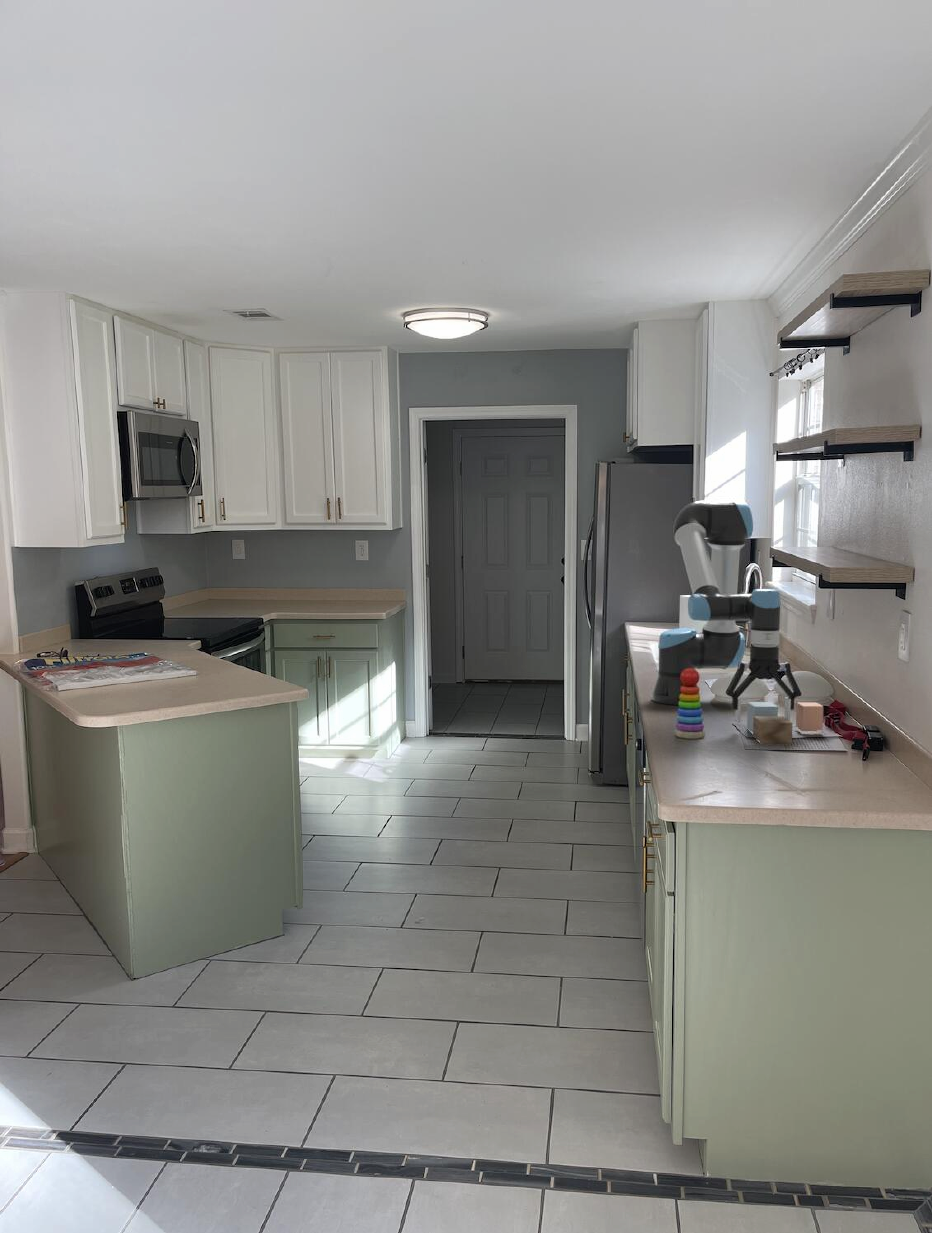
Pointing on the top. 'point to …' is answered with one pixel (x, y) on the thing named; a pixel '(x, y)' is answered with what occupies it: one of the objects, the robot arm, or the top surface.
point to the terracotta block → (809, 716)
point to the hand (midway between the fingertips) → (762, 721)
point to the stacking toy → (689, 707)
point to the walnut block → (772, 730)
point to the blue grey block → (760, 711)
